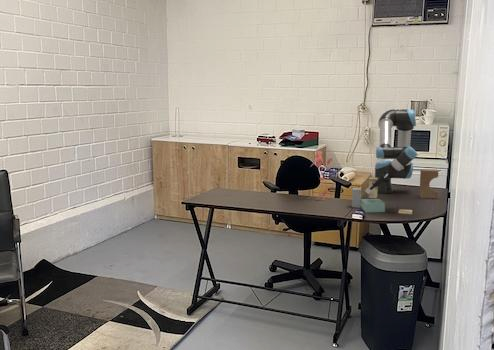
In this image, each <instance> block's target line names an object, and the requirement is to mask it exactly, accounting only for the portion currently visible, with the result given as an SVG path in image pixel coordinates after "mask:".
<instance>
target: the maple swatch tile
mask: <svg viewBox="0 0 494 350" xmlns="http://www.w3.org/2000/svg"><path fill="white" fill-rule="evenodd" d="M397 213H398V214H399V215H400V214H401V215H402V214H403V215H413V210H412V209H399V208H398V212H397Z"/></svg>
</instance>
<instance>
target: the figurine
mask: <svg viewBox="0 0 494 350" xmlns="http://www.w3.org/2000/svg"><path fill="white" fill-rule="evenodd" d="M322 154H323V152H322V150H321V151H320V149H319V150H317V151H316V154H314V157H315V161H313V163H312V164H311V165H310V167H312V166H314V165H315V166H316V167H317V166H318V167H317V168H318V169H319V168H320V174H322V171H323V170H324V169H325V168H327V169H330V168H331V164H332V161H333V158H332V157H330V158H329V159H327V162H326V164H327V165H329V166H326V165H325V164H324V160H323V155H322ZM322 165H323V167H322ZM319 180H320V186H323V185H322V181H324V182H325V186H328V185H327V180H325V178H324V177H323V176H320V177H319ZM325 195H327V197H328V198H329V199H330V198H331V197H330V195H329V193H328V189H325V191H324V192H322V189H320V192H319V194H318V196H317V198H316V200H319V199H320V197H321V198H322V199H323V201H325V198H324V197H325ZM312 197H313V196H310V198H312ZM306 199H307V200H308V199H309V197H307V198H306Z"/></svg>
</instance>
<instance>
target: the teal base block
mask: <svg viewBox="0 0 494 350" xmlns="http://www.w3.org/2000/svg"><path fill="white" fill-rule="evenodd" d="M360 208H361V210H363V212H365V213H386V203H385V202H384V201H383V200H381V199H380V198H364V199H363V198H361V206H360Z"/></svg>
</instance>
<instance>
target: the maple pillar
mask: <svg viewBox="0 0 494 350" xmlns="http://www.w3.org/2000/svg"><path fill="white" fill-rule="evenodd" d="M377 180H378V178H375V177H368V187H370V186H371V185H372V183H373V184H374V183H375V182H376V181H377ZM378 194H379V193H378V186H377V187H376V188H375V189H373V190H372V191H371V192H370V193H369V194H368V199H378Z"/></svg>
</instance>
